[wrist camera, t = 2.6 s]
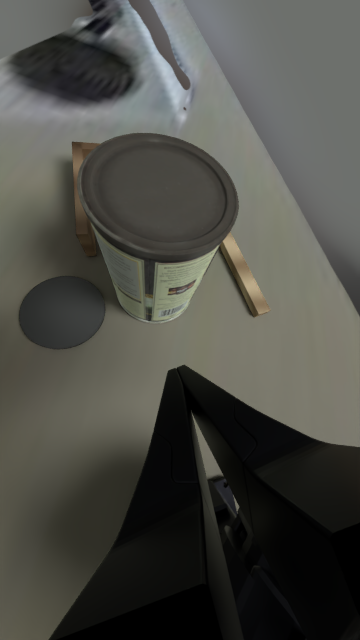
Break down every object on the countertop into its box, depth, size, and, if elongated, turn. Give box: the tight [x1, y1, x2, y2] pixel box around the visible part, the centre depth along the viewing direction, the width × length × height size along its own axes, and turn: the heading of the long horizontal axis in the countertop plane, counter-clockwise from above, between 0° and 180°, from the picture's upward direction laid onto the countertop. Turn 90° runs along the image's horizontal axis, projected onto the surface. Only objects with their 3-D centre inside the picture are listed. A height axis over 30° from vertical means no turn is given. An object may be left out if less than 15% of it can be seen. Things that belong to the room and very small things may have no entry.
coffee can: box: [77, 133, 239, 323], centre depth 18 cm, size 10×10×14 cm
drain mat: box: [19, 276, 105, 349], centre depth 22 cm, size 9×9×1 cm
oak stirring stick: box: [220, 232, 271, 317], centre depth 28 cm, size 14×2×2 cm, turn 21°
